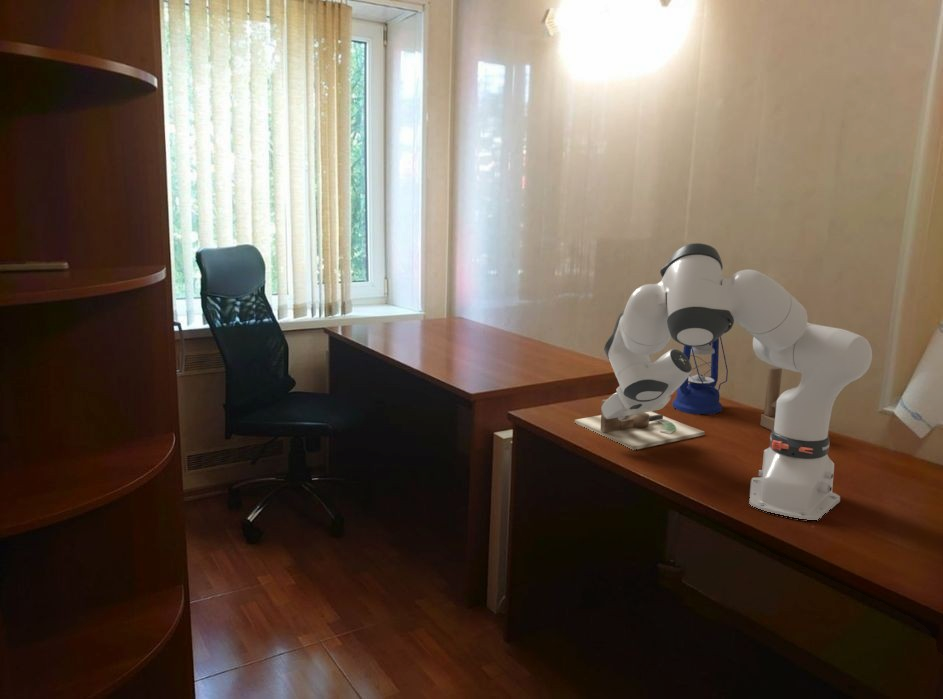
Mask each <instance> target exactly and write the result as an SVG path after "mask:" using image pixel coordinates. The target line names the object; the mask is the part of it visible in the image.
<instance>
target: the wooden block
mask: <svg viewBox="0 0 943 699" xmlns="http://www.w3.org/2000/svg"><path fill="white" fill-rule="evenodd" d="M782 372H783V369H782V368H778V367H775V366H773V365H771V366H769V367H768V369H767V381H766V389H765V390H766V392H765V399H764V401H765V402H764V413H761V415H760V426H761V427H763V428H764V429H765V428H766V430H769V431H771V432H772V429H773V428H774V423H775V413H776V402H777V399H778V398H779V396H780V395H781V393H780V392H781V384H782Z"/></svg>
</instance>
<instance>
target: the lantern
mask: <svg viewBox="0 0 943 699" xmlns="http://www.w3.org/2000/svg"><path fill="white" fill-rule="evenodd" d="M720 345H721V350H722V353H723V358H724V365H725V370H726V373H725V374H726V376H725V377H726V378H725V381H723V382H721V383H719V385H718V389H717V388H716V386H717V382H718V379H719V356H720V355H719V352H720V351H719V348H720ZM723 345H724V344H723V340H722V336H721V337H720V338H718V339H717V340H715V341H713V342H712V343H710V344H707V345H704V346H698V347H692V346H686V345H683V351H682V353H684V354H685V355H686V356H687V358H688V360H689V362H690V361H691V357H693V360H694V364H695V367H692V370H694V369H695V370H696V371H697V372H696V373H697V374H695V375H689V377H688V378H687V379H686V381H685V382H684V383H683V384H682V385H681V386H680V387H679V388H678V389H677V390H676V396H675V398H674V399H673V401H672V406H673V407H674V408H676V409H677V410H676V409H675V410H676V411H678V410H680V411H679V412H681V411H682V412H681V413H685V412H686V413H685V414H690V413H692V414H691V415H696V414H712V415H715V414H714V413H717V414H719V413H718V412H720V411H721V410H722V411H723V405H722V403H721V402H720V396H721V395H720V391H719V390H720V388H721V385H722V384H724V383H726V382H728V375H729V374H728V373H729V370H728V365H727V359H726V355H725V350H724V349H725V348H724V346H723ZM691 354H692V355H691ZM696 355H711V358H710V359H711V360H710V362H709V361H708V362H706V361H704V360H703V359H702V358H700V357H699V356H696ZM696 358H698V359H700V360H701V361H703V362H704V363H703V364H700V365H697V361H696ZM706 364H707V365H708V364H710V369H709V370H708V371H706V372H705V373H704V374H702V373H699V367H701V366H704V365H706ZM709 372H710V376H705V374H707V373H709ZM673 407H672V408H673ZM674 408H673V409H674ZM722 411H721V412H722ZM721 412H720V413H721Z"/></svg>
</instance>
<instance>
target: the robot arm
mask: <svg viewBox="0 0 943 699" xmlns="http://www.w3.org/2000/svg"><path fill="white" fill-rule="evenodd" d="M659 273H660V276H661V277H662V278H661V280H660V281H658V283H648V284H643V285H641V286H639V287H638V288H636V289H635V290H634V291H633V292H632V293H631V295H630V296H629V298H628V300H627V301H626V305H625V308H624V310H623V311H621V313H619V315H618V318H617V320H616V323H615V325H614V329H613V332H612V333H611V336H609V338H608V339H607V341H606V343H605V344H604V348H603V349H604V350H603V351H604V353H605V355H606V357H607V359H608V361H609V362H610V364H611V368H612V370H613V373H614V375H615V378H616V379H617V383H618V384H619V386H618V387H617V388H616V389H615V390H616V392H615V393H613V394H612V395H610V396H609V397H608V398H607V399H608V400H607V401H606V402H605V403H604V404H603V405H602V404H601V409H602V412H603V414H604V416H605V418H606V419H612V418H617V417H618V419H619V421H620V420H626V419H629V418H630V417H631V416H633V415H635V414H639V413H645V412H650V411H651V412H655V411H659V410H661V409H663V408H664V407H665V406H666V405H667V404H668V403H669V402H670V401H671V398H672V397H671V395H673V394H674V393H675V392H677V390H678V388H679V387H680V386H681V385H682V384H683V383H684V382H685V381H686V379H687V378H688V377H689V376H691V373H692V370H693V367H692V364H691V362H690V361H689V360H688V358H687V356H686V355H685V354H684V353H683V351H682V350H679V349H676V348H672V349H669V350H668V351H667V352H665V353H664V354H662V355H661V356H660V357H659V358H658V359H656V360H655V361H652V360H651V357H650V355H655V354H657V353H660V352H661V351H662V350H663V349H665V348H666V347H667V345H668V343H670V341H671V339H672V340H674V341H675V342H677V343H679V344H681V345H683V346H684V345H686V346H692V347H698V346H704V345H707V344H710V343H712V342H713V341H715V340H717V339H718V338H719V339H720V337H721V338H722V336H723V335H724V334H727V333H728V332H729V331H730V330H731V329H732V328H733V325H734V323H735V322H736V323H737V324H739V325H740V326H741V327H742V328H743V329H744V330H745V331H747V333H749V334H750V335H751V336H753V338H752V349H753V352H754V355H755V356H756V357H757V358H758V360H760V361H763V362H765V363H766V364H768V365H771V366H775V367H778V368H782V370H787V371H791V372H794V373H795V372H796V373H801V377H800V378H801V379H800V381H799V384H798V385H797V386H796V387H792V388H789V389H786V390H785V391H783V392H782V393H780V394H779V398H778V399H777V402H776V413H775V423H774V428H773V429H772V431H771V433H770V436H769V439H770V440H769V447H768V448H765V449H764V450H763V457H762V458H763V459H762V468H761V469H759V470H758V472H757V475H758V477H757V476H756V477H752V478H751V479H750V485H749V486H750V487H749V497H750V498H749V499H748V505H749V504H750V505H751V506H750V505H749V506H750V507H752V506H753V507H752V508H754V507H756V508H758V509H761V510H764V511H767V512H771V513H775V514H780V515H784V516H789V517H794V518H799V519H807V520H817V521H819V520H820V519H822V518H823V517H824V516H825V515H826V514H828V512H830V511H831V510H832V509H833V508H834V507H836V505H837V504H839V503H840V502H841V496H840V495H839V494H837V493H835V492H833V488H834V487H833V483H834V474H835V473H834V472H835V463H834V462H833V460H831V458H830V457H829V455H828V453H829V449H830V444H831V443H830V436H829V429H830V421H831V415H832V410H833V407H834V404H835V401H836V399H837V396H839V394H840V392H842V390H843V389H844V388H845V387H846V386H848V385H849V384H850V383H853V382H854V381H856V380H858V379H860V378H861V377H863V376H864V375H865V374H866V373H867V372H868V370H869V369H870V366H871V364H872V361H873V351H872V347H871V344H870V342H869V341H868V339H867V338H866V337H864V336H862V335H861V334H857V333H856V332H852V331H850V330H847V329H844V328H840V327H832V326H826V325H821V324H817V323H816V324H815V323H810V322H808V312H807V310H806V308H805V307H804V305H802V304H801V302H799V300H797V299H796V297H795V296H794V295H792V294H791V293H790V292H789V291H787V289H785V287H783V286H782V285H781V284H780V283H779V282H778V281H776V280H774V279H773V278H771V277H769V276H768V275H766V274H764V273H762V272H761V271H758V270H757V269H741V270H739V271H737V272H735V273H733V274H731V276H730V277H728V278H724V276H723V262H722V258H721V256H720V254H719V252H718V250H717V249H716V248H715V247H713V246H712V245H709V244H705V243H699V242H696V243H695V242H694V243H689V244H686V245H683V246H682V247H680V248H678V249H677V250H676V251H675V252H673V254H672V255H671V256H670V258H669V259H668V262H667V263H666V264H665V265H663V267H661V269H660V272H659ZM601 409H600V410H601ZM756 508H755V509H756ZM758 509H757V510H758ZM830 509H831V510H830ZM761 510H760V511H761ZM829 510H830V511H829ZM764 511H763V512H764ZM767 512H766V513H767ZM825 513H826V514H825ZM824 514H825V515H824ZM823 515H824V516H823ZM822 516H823V517H822ZM819 518H820V519H819ZM818 519H819V520H818ZM807 520H806V521H807Z"/></svg>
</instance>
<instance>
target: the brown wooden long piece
mask: <svg viewBox="0 0 943 699" xmlns="http://www.w3.org/2000/svg"><path fill="white" fill-rule="evenodd" d="M607 400H608V398H606V399H601V406H602V405H603V404H604V403H605V402H606V401H607ZM600 410H601V411H600V412H601V414H600V415H601V431H602V432H608V431H613V430H619V429H621V430H622V429H627V428H632V427H635V428H645V427H648V426H649V422H650V421H655V420H660V419H663V416H664V415H663V414H661V413H658V414H659V415H654V416H649V414H647V413H639V414H635V415H633V416H631V417H630V418H629V419H626V420H620V421H619V419H618V417H617V418H612V419H606V418H605V416H604V414H603V412H602V409H600Z"/></svg>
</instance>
